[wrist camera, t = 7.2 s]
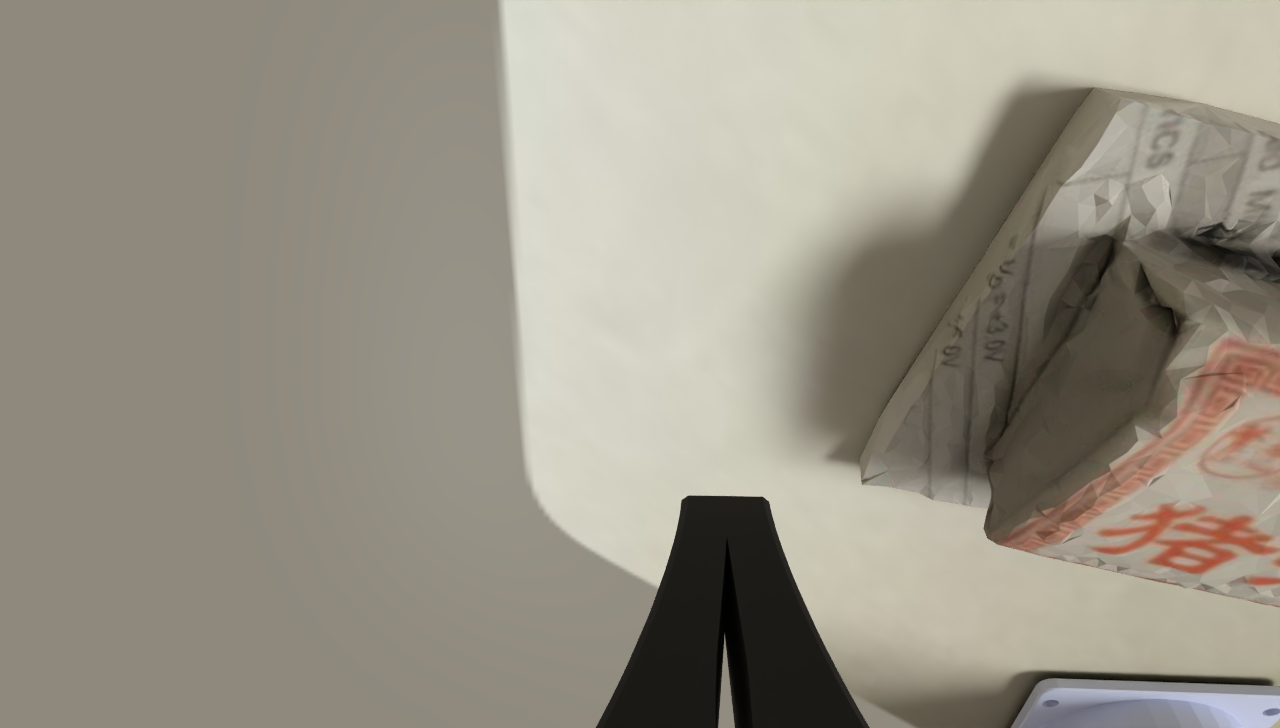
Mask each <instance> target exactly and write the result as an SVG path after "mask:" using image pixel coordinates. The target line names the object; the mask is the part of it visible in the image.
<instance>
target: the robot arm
mask: <svg viewBox="0 0 1280 728" xmlns="http://www.w3.org/2000/svg"><path fill="white" fill-rule="evenodd" d="M724 634H725V639H726V649H727V658H728V667H729V677H730V685H731V695H732V704H733V713H734V722H735V728H869V726H868V724H867V723H866V721H865V719H864V718H863V716H862V714H861V713H860V711H859V709H858V707H857V705H856V704H855V702H854V700H853V699H852V697H851V695H850V693H849V691H848V689H847V687H846V686H845V684H844V682H843V680H842V678H841V676H840V674H839V673H838V671H837V669H836V667H835V665H834V663H833V661H832V659H831V657H830V655H829V653H828V651H827V649H826V648H825V645H824V643H823V641H822V639H821V637H820V635H819V633H818V631H817V629H816V627H815V625H814V623H813V620H812V618H811V616H810V614H809V612H808V609H807V607H806V605H805V603H804V601H803V598H802V596H801V594H800V592H799V590H798V587H797V585H796V582H795V580H794V578H793V575H792V573H791V570H790V567H789V565H788V562H787V560H786V557H785V554H784V552H783V549H782V546H781V543H780V540H779V537H778V534H777V531H776V528H775V524H774V521H773V517H772V513H771V509H770V504H769V501H767V500H766V499H765V498H764V497H743V496H687V497H686V498H684V499H683V500H682V502H681V510H680V517H679V522H678V527H677V531H676V535H675V539H674V543H673V547H672V550H671V553H670V556H669V560H668V563H667V566H666V570H665V572H664V575H663V578H662V581H661V584H660V586H659V589H658V592H657V595H656V597H655V600H654V603H653V606H652V608H651V611H650V614H649V616H648V619H647V621H646V623H645V626H644V628H643V630H642V633H641V635H640V637H639V639H638V642H637V644H636V647H635V649H634V651H633V653H632V656H631V658H630V660H629V663H628V665H627V667H626V669H625V671H624V673H623V675H622V677H621V680H620V682H619V684H618V686H617V688H616V690H615V692H614V694H613V696H612V698H611V700H610V702H609V704H608V706H607V708H606V709H605V711H604V713H603V715H602V717H601V719H600V721H599V723H598V725H597V727H596V728H718V719H719V706H720V692H721V677H722V663H723V649H724ZM1279 719H1280V686H1260V685H1232V684H1203V683H1174V682H1146V681H1117V680H1088V679H1060V678H1051V679H1045V680H1042V681H1040V682H1039V683H1038V684H1037V685H1036V686H1035V688H1034V689H1033V691H1032V693H1031V694H1030V696H1029V698H1028V700H1027V701H1026V703H1025V705H1024V706H1023V708H1022V710H1021V711H1020V713H1019V715H1018V716H1017V718H1016V720H1015V721H1014V723H1013V725H1012V726H1011V728H1270V727H1271V726H1272V725H1273V724H1275V723H1276V722H1277V721H1278V720H1279Z"/></svg>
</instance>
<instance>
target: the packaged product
mask: <svg viewBox="0 0 1280 728" xmlns="http://www.w3.org/2000/svg"><path fill="white" fill-rule="evenodd" d="M860 467H861V481H862V485H873V486H886V487H892V488H897V489H903V490H908V491H913V492H919V493H921V494H923V495H924V496H926V497H928V498H930V499H932V500H937V501H943V502H950V503H957V504H963V505H967V506H973V507H981V508H988V511H987V515H986V519H985V524H984V531H985V533H986V536H987V538H988V539H990V540H991V541H993V542H994V543H996V544H998V545H1002V546H1005V547H1009V548H1013V549H1018V550H1022V551H1025V552H1029V553H1032V554H1036V555H1039V556H1044V557H1049V558H1054V559H1058V560H1063V561H1067V562H1072V563H1077V564H1082V565H1087V566H1092V567H1096V568H1100V569H1105V570H1109V571H1113V572H1118V573H1122V574H1126V575H1131V576H1135V577H1140V578H1144V579H1149V580H1153V581H1158V582H1163V583H1168V584H1173V585H1178V586H1181V587H1184V588H1193V589H1197V590H1202V591H1206V592H1211V593H1215V594H1219V595H1224V596H1229V597H1233V598H1238V599H1243V600H1248V601H1252V602H1256V603H1260V604H1265V605H1272V606H1276V607H1280V124H1277V123H1273V122H1270V121H1266V120H1262V119H1258V118H1254V117H1251V116H1247V115H1243V114H1239V113H1236V112H1232V111H1228V110H1224V109H1220V108H1217V107H1213V106H1209V105H1205V104H1201V103H1194V102H1188V101H1182V100H1176V99H1170V98H1164V97H1158V96H1151V95H1145V94H1139V93H1132V92H1125V91H1117V90H1110V89H1102V88H1093V89H1092V91H1091V92H1090V93H1089V95H1088V96H1087V97H1086V99H1085V100H1084V101H1083V102H1082V104H1081V105H1080V106H1079V108H1078V109H1077V110H1076V112H1075V113H1074V114H1073V116H1072V117H1071V119H1070V120H1069V122H1068V124H1067V125H1066V127H1065V128H1064V130H1063V131H1062V133H1061V134H1060V136H1059V138H1058V139H1057V141H1056V142H1055V144H1054V145H1053V147H1052V149H1051V150H1050V152H1049V153H1048V155H1047V156H1046V158H1045V160H1044V161H1043V163H1042V164H1041V166H1040V167H1039V169H1038V171H1037V172H1036V174H1035V175H1034V177H1033V178H1032V180H1031V181H1030V183H1029V185H1028V186H1027V188H1026V189H1025V191H1024V192H1023V194H1022V196H1021V197H1020V199H1019V200H1018V202H1017V203H1016V205H1015V207H1014V208H1013V210H1012V211H1011V213H1010V214H1009V216H1008V218H1007V219H1006V221H1005V222H1004V224H1003V225H1002V227H1001V228H1000V230H999V232H998V233H997V235H996V236H995V238H994V239H993V241H992V243H991V244H990V246H989V247H988V249H987V251H986V253H985V255H984V256H983V258H982V259H981V261H980V262H979V264H978V265H977V266H976V268H975V269H974V271H973V273H972V274H971V276H970V277H969V279H968V280H967V282H966V283H965V285H964V286H963V288H962V289H961V291H960V292H959V294H958V295H957V297H956V298H955V300H954V301H953V303H952V304H951V306H950V307H949V309H948V310H947V312H946V313H945V315H944V316H943V318H942V320H941V321H940V323H939V324H938V326H937V327H936V329H935V331H934V332H933V334H932V335H931V337H930V338H929V340H928V342H927V343H926V345H925V346H924V348H923V349H922V351H921V352H920V354H919V356H918V357H917V359H916V360H915V362H914V363H913V365H912V367H911V368H910V370H909V371H908V373H907V374H906V376H905V377H904V379H903V381H902V382H901V384H900V385H899V387H898V388H897V390H896V392H895V393H894V395H893V396H892V398H891V399H890V401H889V403H888V404H887V406H886V408H885V409H884V411H883V413H882V414H881V416H880V417H879V419H878V421H877V424H876V426H875V428H874V430H873V432H872V434H871V436H870V438H869V440H868V443H867V445H866V447H865V449H864V451H863V453H862V455H861V457H860Z"/></svg>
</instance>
